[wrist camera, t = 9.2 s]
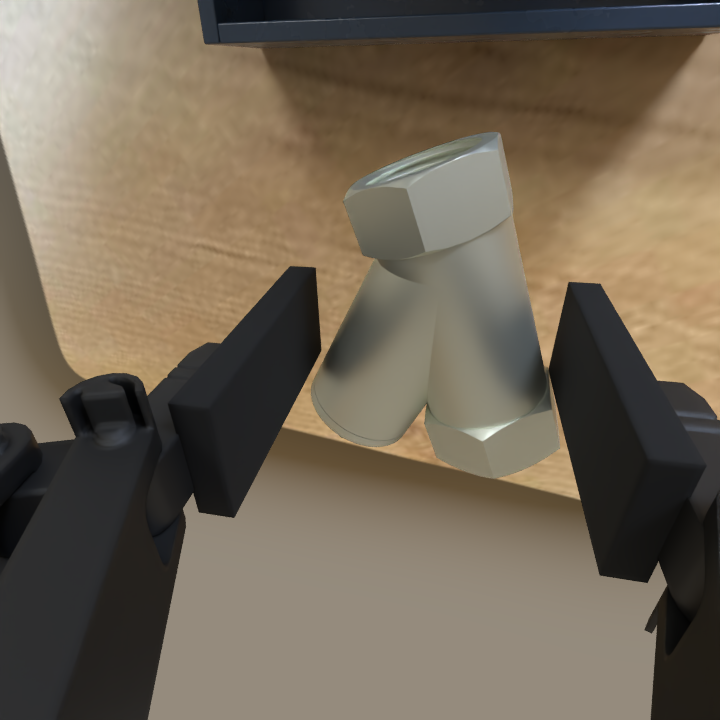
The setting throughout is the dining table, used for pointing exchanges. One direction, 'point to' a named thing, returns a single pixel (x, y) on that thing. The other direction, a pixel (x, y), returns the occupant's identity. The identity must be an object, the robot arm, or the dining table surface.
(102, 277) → the dining table surface
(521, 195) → the dining table surface
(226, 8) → the toolbox
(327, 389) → the pipe fitting
